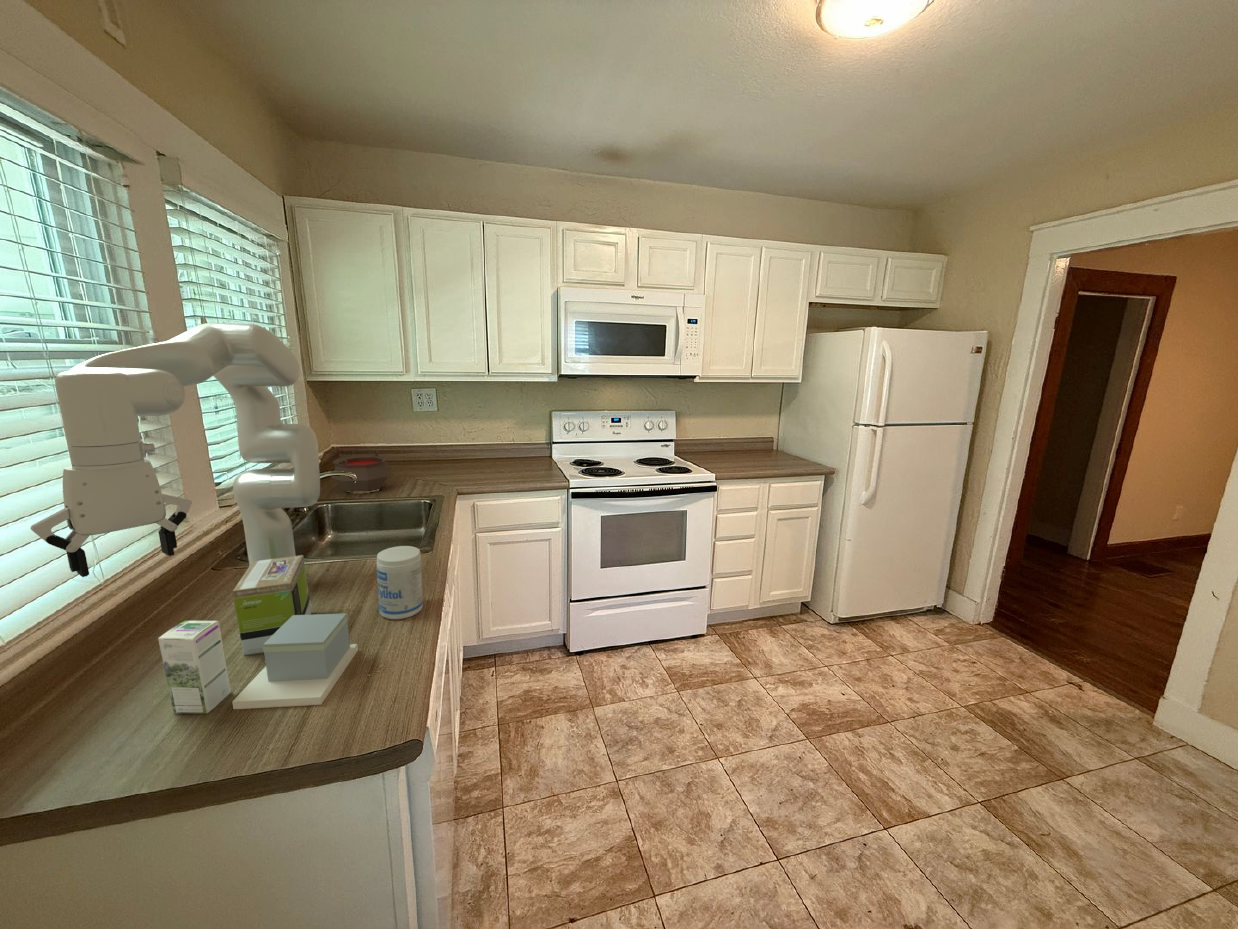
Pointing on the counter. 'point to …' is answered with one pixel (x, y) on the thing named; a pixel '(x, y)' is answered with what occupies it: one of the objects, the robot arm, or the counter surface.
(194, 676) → the syrup box
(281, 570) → the tea box
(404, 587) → the supplement tub
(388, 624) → the counter surface
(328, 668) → the stand
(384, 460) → the dark round pot
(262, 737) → the counter surface
